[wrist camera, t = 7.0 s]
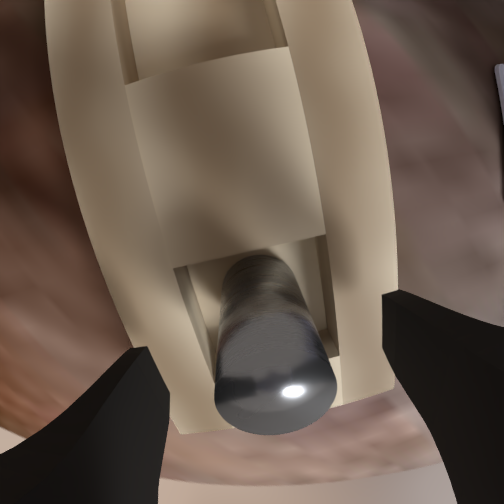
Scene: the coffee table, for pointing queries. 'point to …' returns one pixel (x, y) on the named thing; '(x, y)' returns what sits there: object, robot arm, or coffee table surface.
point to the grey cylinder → (269, 352)
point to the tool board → (228, 173)
